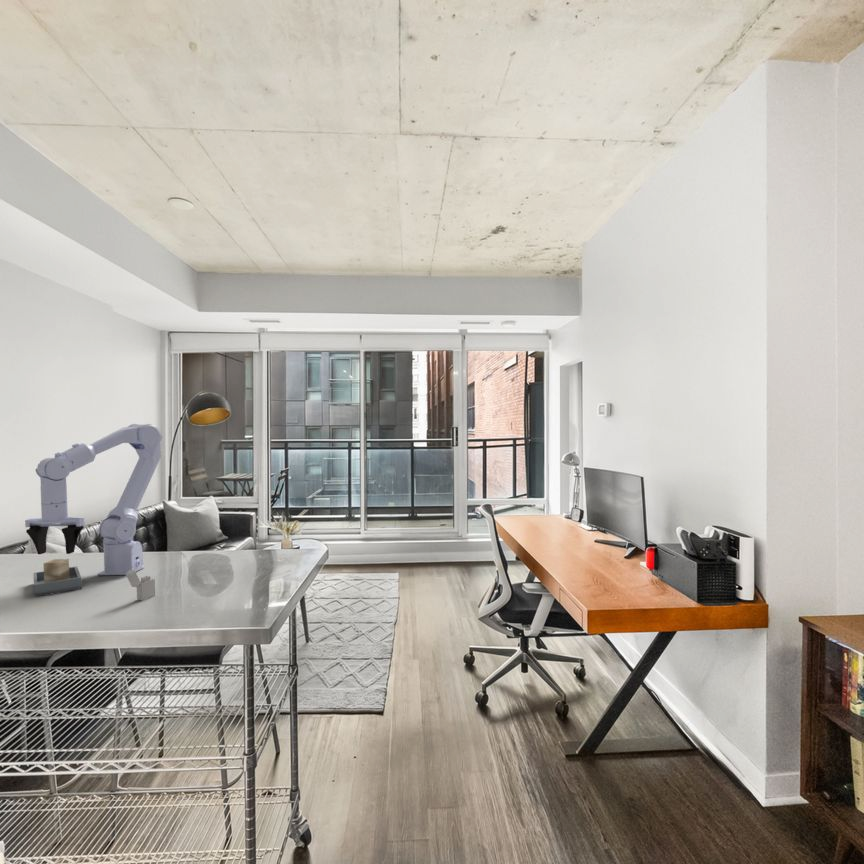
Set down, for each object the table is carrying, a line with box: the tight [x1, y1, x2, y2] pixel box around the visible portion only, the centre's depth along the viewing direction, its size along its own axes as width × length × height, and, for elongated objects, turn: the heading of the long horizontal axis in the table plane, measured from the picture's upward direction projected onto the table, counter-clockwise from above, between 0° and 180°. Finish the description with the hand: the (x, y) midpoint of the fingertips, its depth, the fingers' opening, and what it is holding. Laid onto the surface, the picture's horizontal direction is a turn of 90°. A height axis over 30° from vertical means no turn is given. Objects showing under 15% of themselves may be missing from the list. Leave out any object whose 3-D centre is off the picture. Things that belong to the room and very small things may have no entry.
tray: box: [33, 566, 83, 598], centre depth 145 cm, size 10×14×3 cm
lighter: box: [124, 570, 156, 601], centre depth 133 cm, size 7×2×8 cm, turn 160°
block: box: [43, 558, 70, 583], centre depth 145 cm, size 4×4×6 cm
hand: (56, 553), depth 145 cm, fingers open, 7 cm apart
